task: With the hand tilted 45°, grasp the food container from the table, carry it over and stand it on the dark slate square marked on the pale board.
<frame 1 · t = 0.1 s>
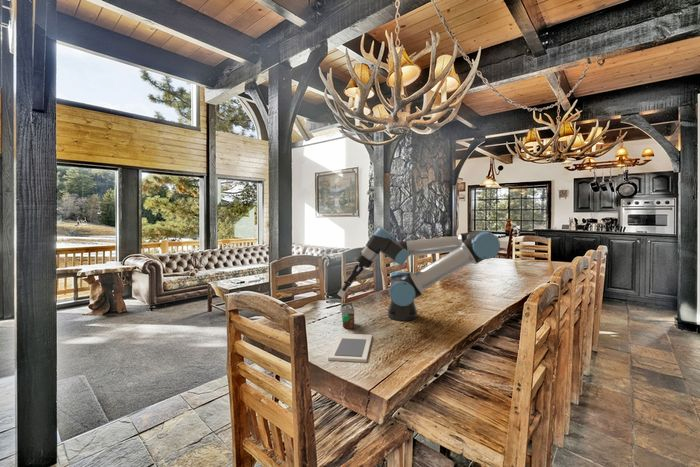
hand: (342, 292, 160), 15 cm above the table, tool tilted 35°, fingers open, 13 cm apart
layout board: (351, 347, 131), on the table
food container: (346, 326, 156), on the table
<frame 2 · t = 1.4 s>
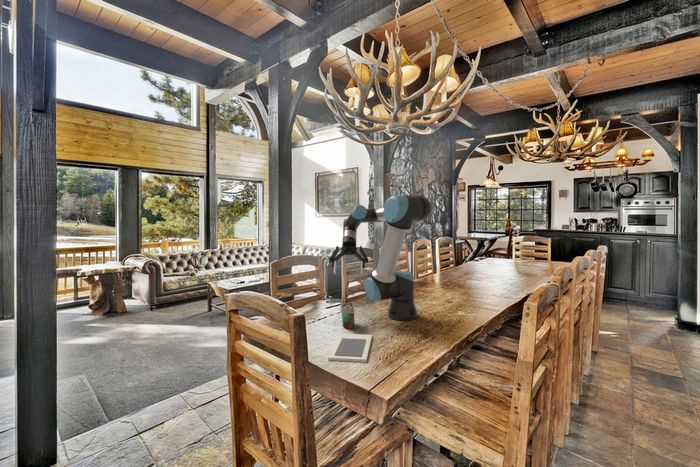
hand: (348, 273, 165), 23 cm above the table, tool tilted 45°, fingers open, 13 cm apart
nothing on the table moved.
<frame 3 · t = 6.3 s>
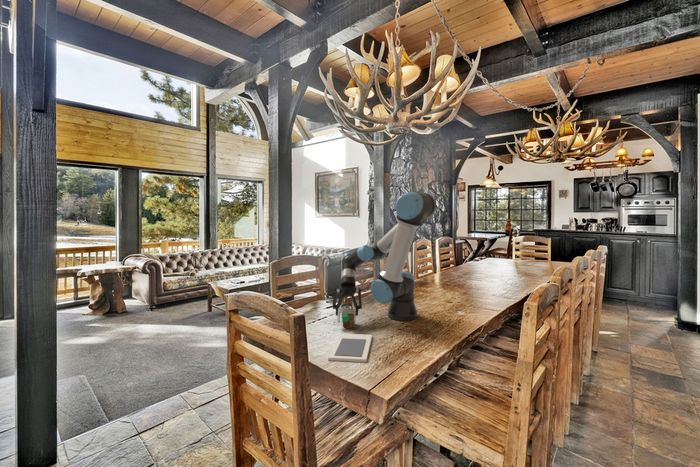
hand: (346, 321, 152), 3 cm above the table, tool tilted 45°, fingers closed on food container, 7 cm apart
food container: (346, 326, 156), on the table, touching gripper
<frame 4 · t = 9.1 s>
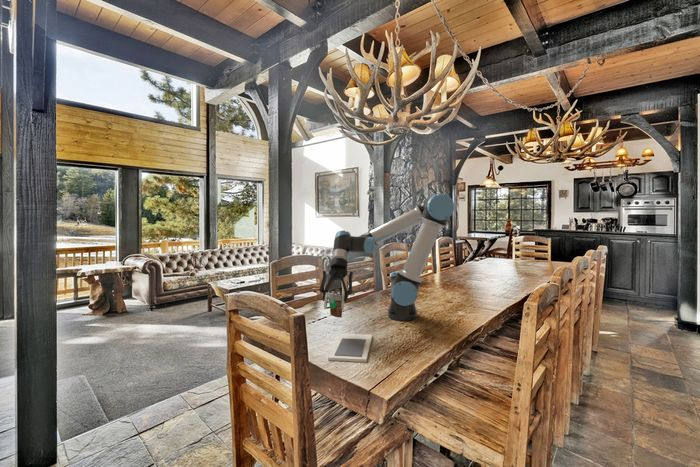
hand: (333, 308, 138), 14 cm above the table, tool tilted 40°, fingers closed on food container, 7 cm apart
food container: (334, 313, 142), point 10 cm above the table, touching gripper
when the fingers open (6 cm above the table, at t = 11.9 s): food container drops 1 cm, resting on layout board.
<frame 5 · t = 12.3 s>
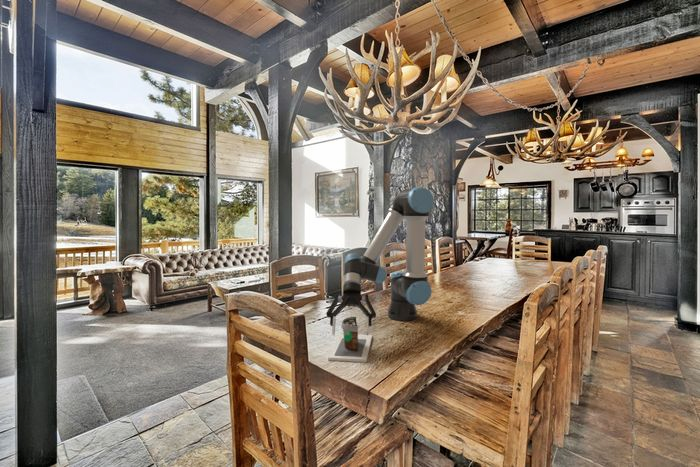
hand: (350, 333, 126), 7 cm above the table, tool tilted 45°, fingers open, 12 cm apart
food container: (349, 346, 129), point 1 cm above the table, touching layout board
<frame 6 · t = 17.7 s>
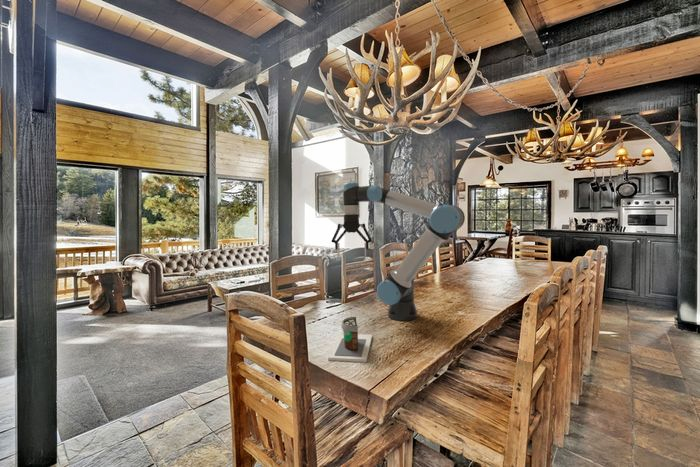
hand: (352, 256, 166), 32 cm above the table, tool pointing down, fingers open, 13 cm apart
nothing on the table moved.
at the end: food container inside the target area on the layout board (0.7 cm from its centre), point 1.1 cm above the layout board's base; food container tilted 0°; the gripper is holding nothing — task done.
